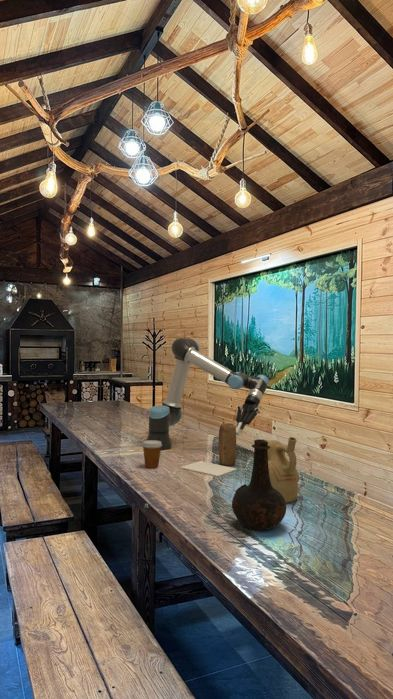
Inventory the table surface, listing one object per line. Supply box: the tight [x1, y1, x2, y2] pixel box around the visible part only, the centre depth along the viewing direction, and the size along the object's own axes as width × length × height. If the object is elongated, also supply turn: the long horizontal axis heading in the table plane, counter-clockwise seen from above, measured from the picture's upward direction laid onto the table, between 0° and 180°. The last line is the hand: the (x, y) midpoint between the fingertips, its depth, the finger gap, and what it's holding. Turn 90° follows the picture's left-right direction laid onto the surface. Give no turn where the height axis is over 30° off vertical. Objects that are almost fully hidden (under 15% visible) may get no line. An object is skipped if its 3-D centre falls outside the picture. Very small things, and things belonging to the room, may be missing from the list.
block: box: [218, 422, 237, 467], centre depth 226 cm, size 11×8×20 cm
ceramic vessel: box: [268, 436, 300, 504], centre depth 176 cm, size 17×20×25 cm
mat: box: [179, 460, 238, 478], centre depth 216 cm, size 22×16×1 cm
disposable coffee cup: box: [141, 439, 162, 469], centre depth 217 cm, size 10×10×12 cm
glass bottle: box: [231, 439, 287, 531], centre depth 148 cm, size 18×18×28 cm
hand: (236, 433), depth 233 cm, fingers closed
